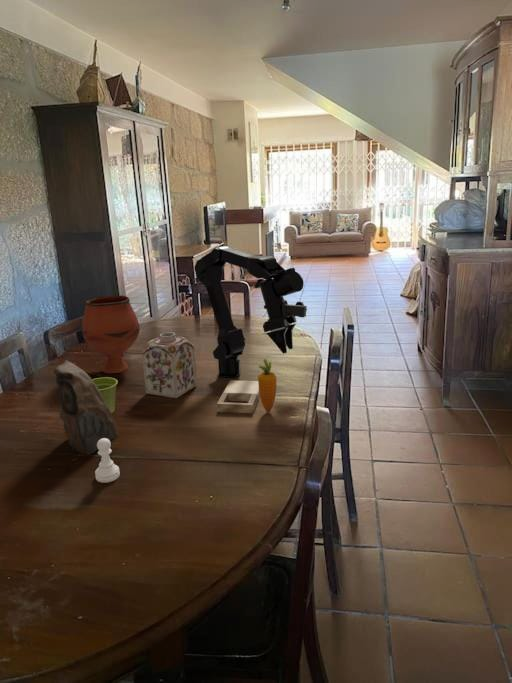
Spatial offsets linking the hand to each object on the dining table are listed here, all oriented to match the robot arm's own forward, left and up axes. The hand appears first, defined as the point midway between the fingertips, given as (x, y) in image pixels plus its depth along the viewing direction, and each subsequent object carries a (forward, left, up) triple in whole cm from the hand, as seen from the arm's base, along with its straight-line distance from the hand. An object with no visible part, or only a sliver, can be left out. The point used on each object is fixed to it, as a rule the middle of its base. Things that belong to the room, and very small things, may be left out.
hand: (288, 351), depth 147 cm
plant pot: (-50, -18, -13) cm, 55 cm away
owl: (-45, -35, -13) cm, 59 cm away
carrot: (-4, -14, -13) cm, 20 cm away
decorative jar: (-36, 0, -14) cm, 39 cm away
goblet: (-62, +17, -13) cm, 66 cm away
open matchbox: (-13, -6, -13) cm, 20 cm away
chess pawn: (-34, -50, -13) cm, 62 cm away
